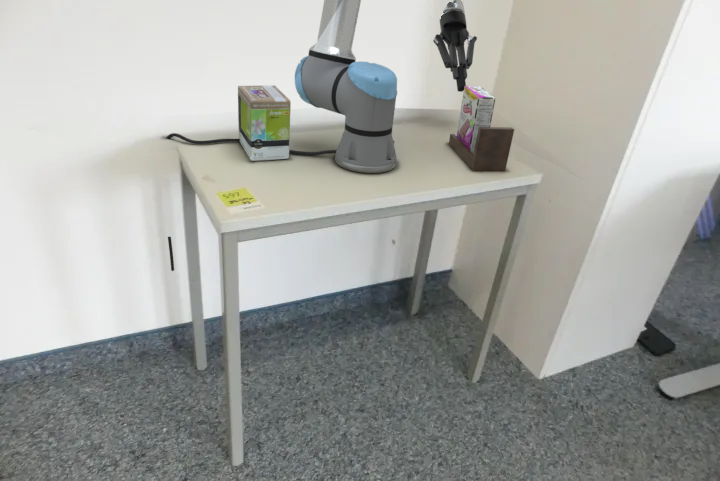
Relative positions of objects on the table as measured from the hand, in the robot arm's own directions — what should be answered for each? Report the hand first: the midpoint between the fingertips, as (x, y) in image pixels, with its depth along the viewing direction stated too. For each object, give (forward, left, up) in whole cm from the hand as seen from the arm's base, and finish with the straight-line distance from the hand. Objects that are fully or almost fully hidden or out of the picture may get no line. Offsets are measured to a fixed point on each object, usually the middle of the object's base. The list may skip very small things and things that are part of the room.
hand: (461, 89), depth 159 cm
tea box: (-56, -14, -14) cm, 59 cm away
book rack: (0, -17, -13) cm, 22 cm away
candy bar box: (0, -13, -14) cm, 19 cm away
